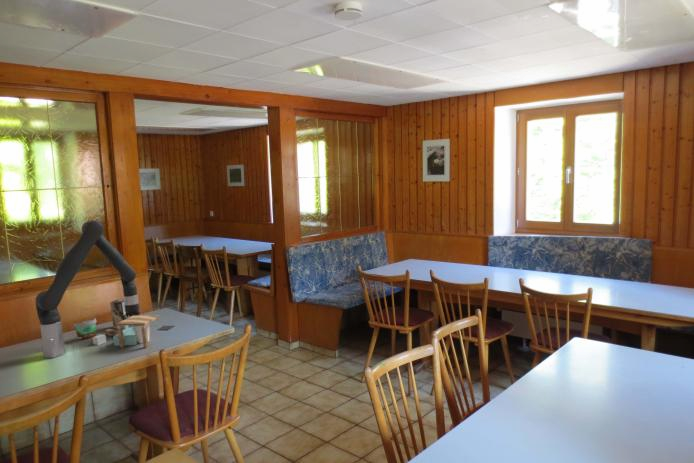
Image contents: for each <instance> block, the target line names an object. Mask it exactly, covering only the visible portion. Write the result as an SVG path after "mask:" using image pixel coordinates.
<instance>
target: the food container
mask: <svg viewBox="0 0 694 463" xmlns="http://www.w3.org/2000/svg"><path fill="white" fill-rule="evenodd" d="M97 322H98V321H97V319H96V317H94V318H93V319H89V320H84V321H81V322H78V323H77V322H74V323H73V328H74V329H75V334H76V337H77V340H78V341H85V340H90V339H93V338H92V337H95V336H97V326H96V323H97Z"/></svg>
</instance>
